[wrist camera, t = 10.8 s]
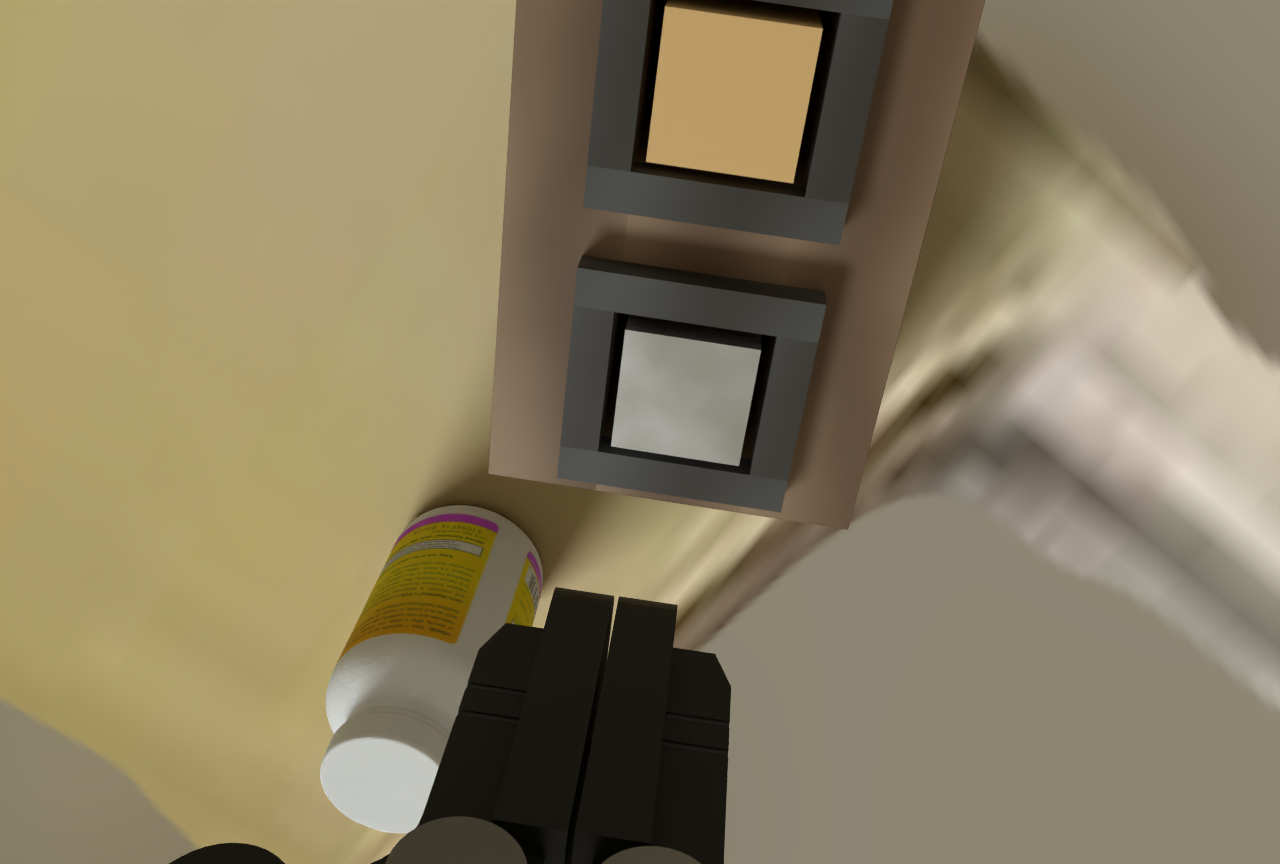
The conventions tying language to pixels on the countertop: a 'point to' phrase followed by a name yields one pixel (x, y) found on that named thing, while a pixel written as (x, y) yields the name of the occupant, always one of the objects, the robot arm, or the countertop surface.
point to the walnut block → (715, 249)
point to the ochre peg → (733, 86)
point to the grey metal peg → (685, 389)
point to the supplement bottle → (420, 658)
